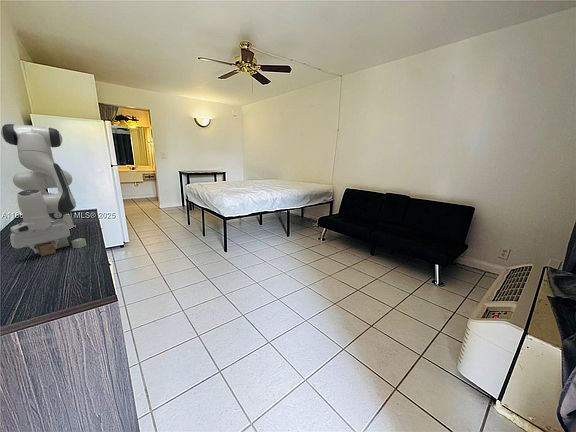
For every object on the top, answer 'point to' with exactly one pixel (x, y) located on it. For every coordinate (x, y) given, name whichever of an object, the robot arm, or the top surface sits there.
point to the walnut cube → (46, 248)
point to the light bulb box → (61, 242)
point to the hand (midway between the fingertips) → (46, 250)
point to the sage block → (79, 243)
